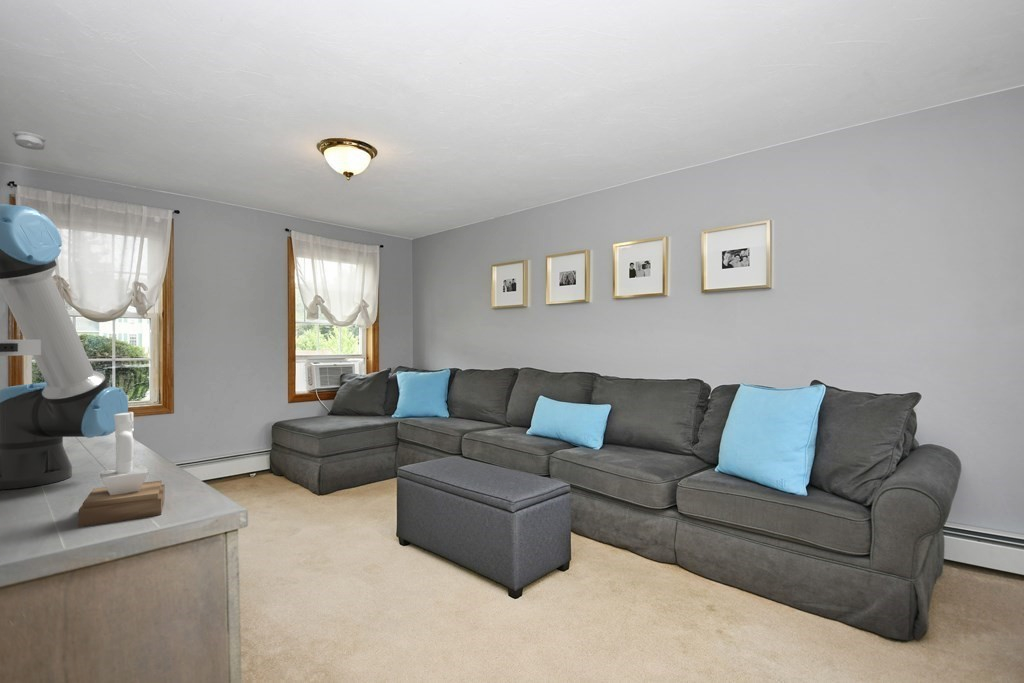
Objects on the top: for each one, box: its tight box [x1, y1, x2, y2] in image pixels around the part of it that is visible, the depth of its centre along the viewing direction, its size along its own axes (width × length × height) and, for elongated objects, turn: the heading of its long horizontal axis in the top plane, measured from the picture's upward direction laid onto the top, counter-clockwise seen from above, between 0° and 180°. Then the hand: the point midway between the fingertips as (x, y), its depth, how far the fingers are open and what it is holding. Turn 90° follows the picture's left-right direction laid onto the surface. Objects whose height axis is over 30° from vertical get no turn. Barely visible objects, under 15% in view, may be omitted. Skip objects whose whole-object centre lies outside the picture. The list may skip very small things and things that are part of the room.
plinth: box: [78, 480, 166, 528], centre depth 98 cm, size 12×12×4 cm
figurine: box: [99, 411, 150, 495], centre depth 98 cm, size 7×9×15 cm
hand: (23, 347), depth 93 cm, fingers open, 13 cm apart
